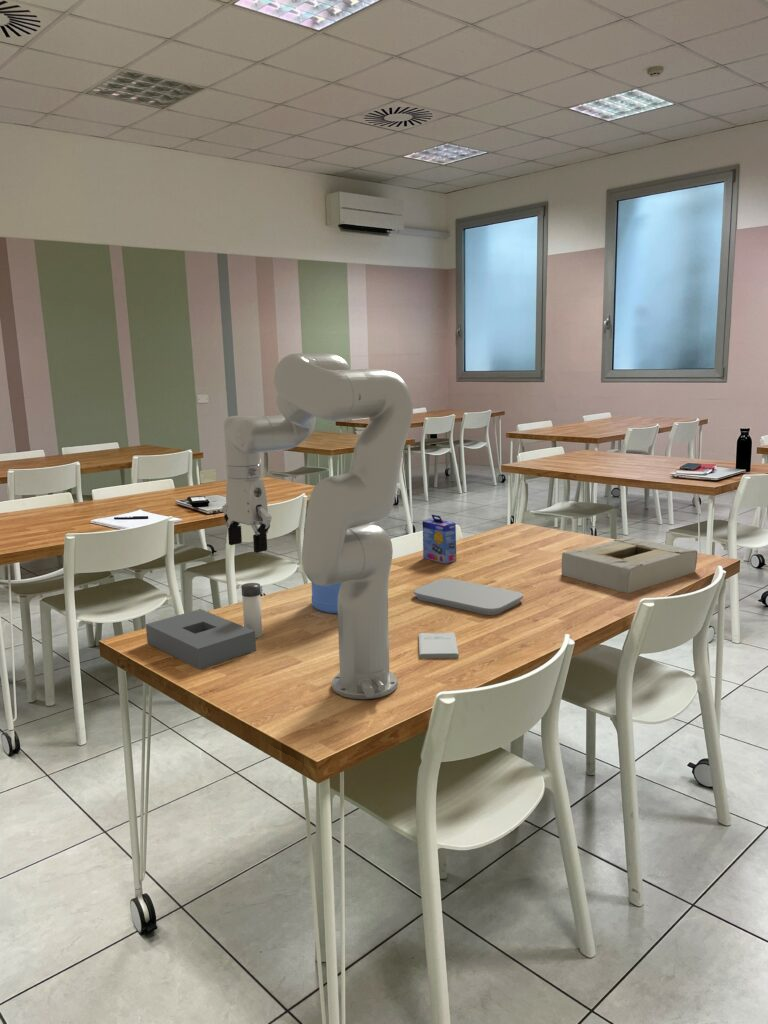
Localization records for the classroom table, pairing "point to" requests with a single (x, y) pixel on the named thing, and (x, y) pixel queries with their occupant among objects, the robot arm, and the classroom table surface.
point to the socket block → (200, 638)
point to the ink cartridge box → (439, 540)
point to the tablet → (468, 596)
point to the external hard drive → (438, 645)
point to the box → (628, 564)
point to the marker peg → (252, 607)
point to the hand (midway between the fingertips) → (247, 547)
